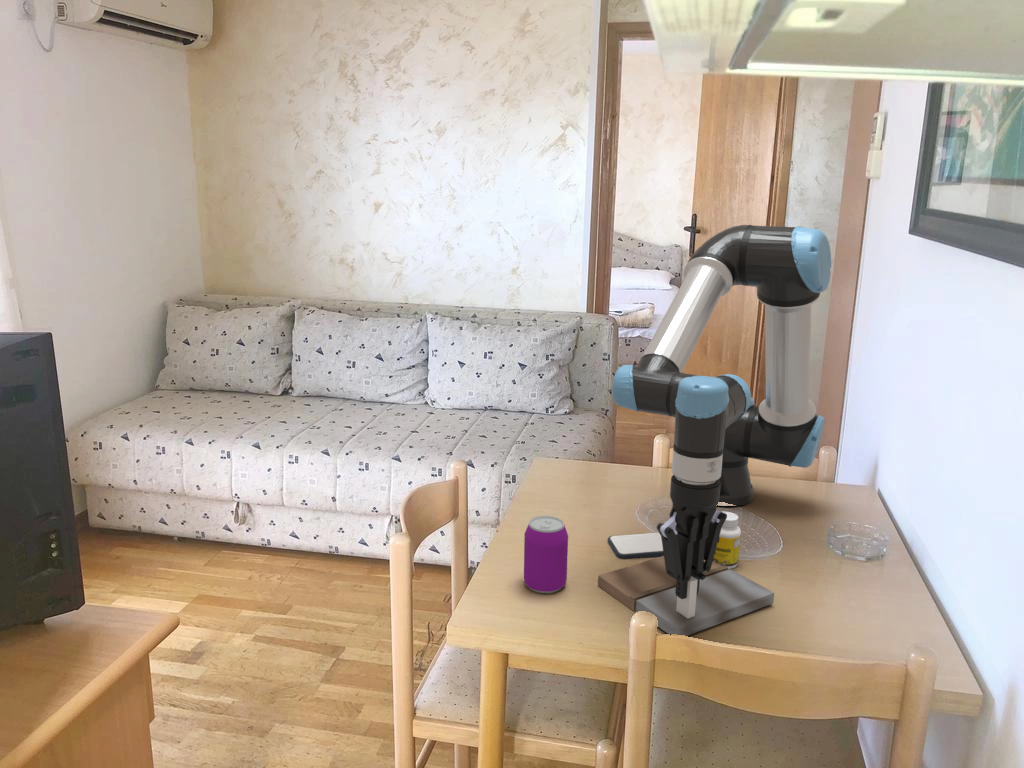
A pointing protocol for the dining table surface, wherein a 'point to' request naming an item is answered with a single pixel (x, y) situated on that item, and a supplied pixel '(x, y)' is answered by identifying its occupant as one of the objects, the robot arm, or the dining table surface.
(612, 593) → the walnut floor board
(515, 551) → the dining table surface
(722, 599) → the grey plank
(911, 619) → the dining table surface
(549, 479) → the dining table surface
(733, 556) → the supplement bottle
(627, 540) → the smartphone
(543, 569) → the beverage can
